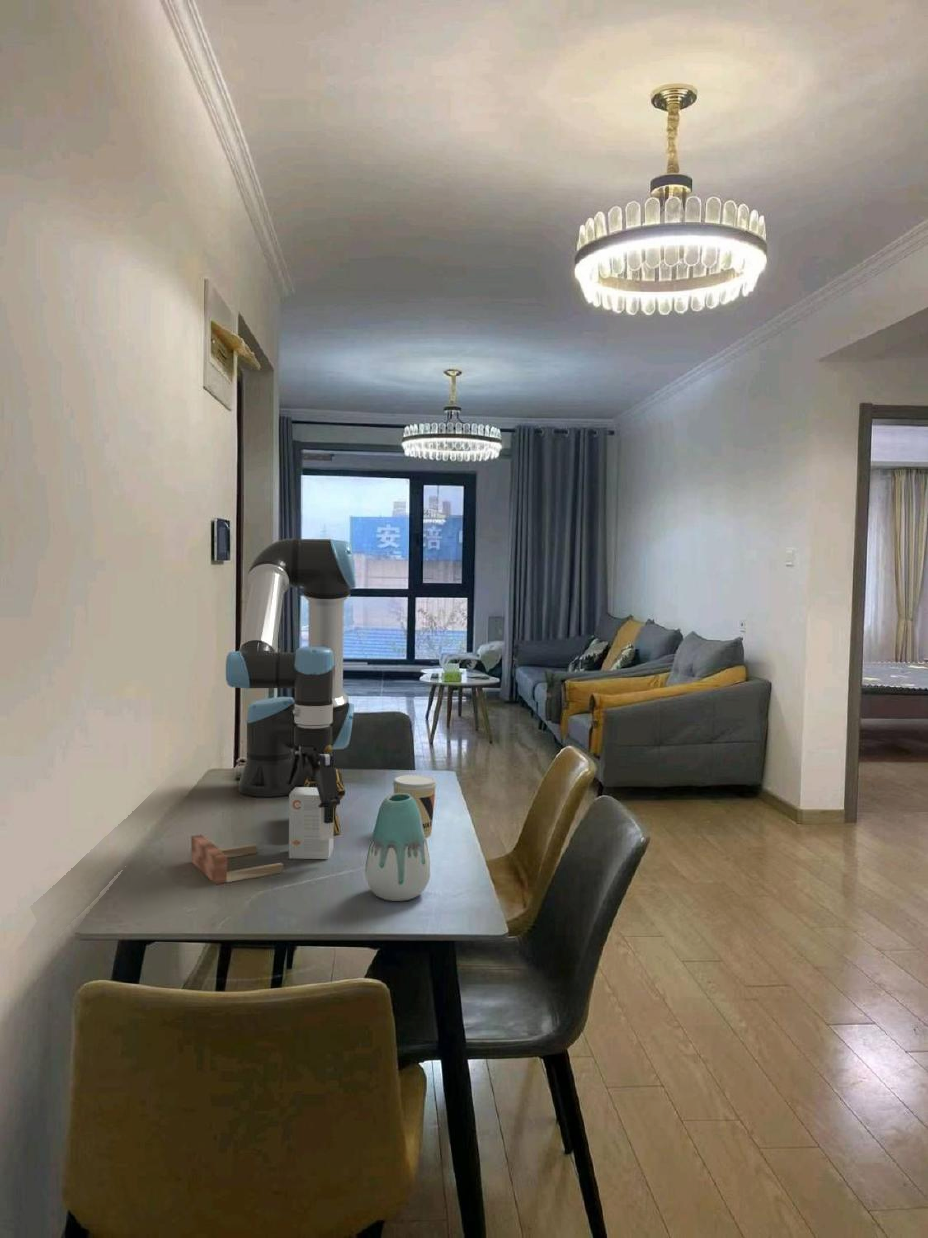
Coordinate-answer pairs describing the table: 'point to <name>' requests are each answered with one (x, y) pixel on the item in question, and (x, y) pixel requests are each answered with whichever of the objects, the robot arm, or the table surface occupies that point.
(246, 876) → the keeper seat
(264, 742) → the robot arm
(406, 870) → the vase
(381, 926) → the table surface
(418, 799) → the coffee cup
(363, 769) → the table surface
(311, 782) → the decorative box
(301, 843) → the small box
